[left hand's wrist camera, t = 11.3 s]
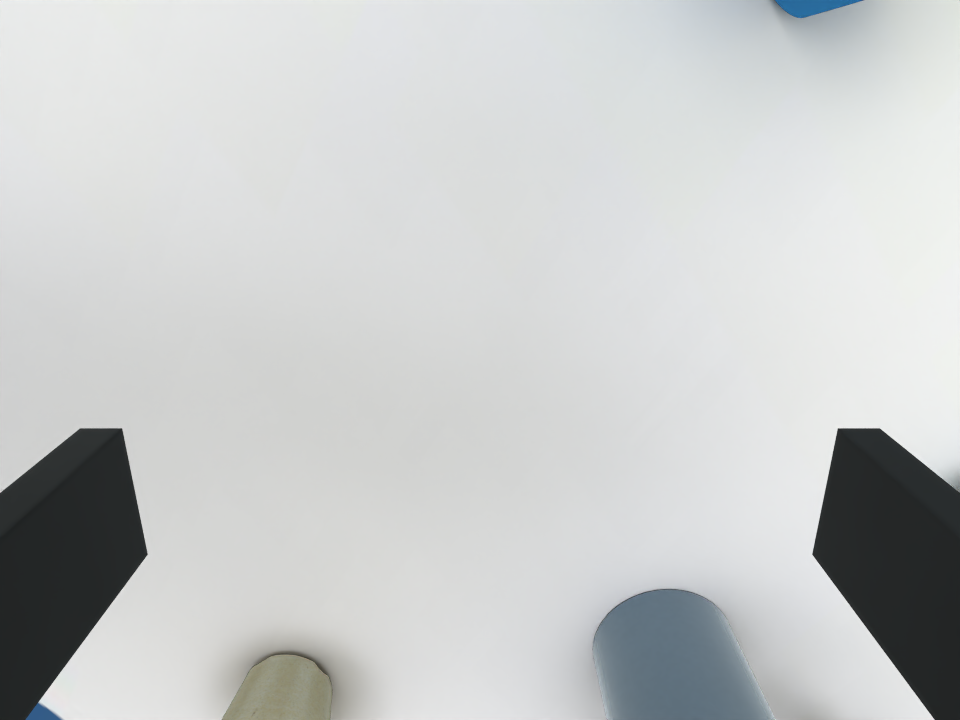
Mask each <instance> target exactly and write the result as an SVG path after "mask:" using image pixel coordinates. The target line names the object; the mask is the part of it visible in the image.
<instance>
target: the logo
mask: <svg viewBox="0 0 960 720" xmlns="http://www.w3.org/2000/svg"><path fill="white" fill-rule="evenodd" d="M775 1H776V2H777V3H778V4H779V5H780V6H781V8H783V9H784V10H785V11H786V12H787V13H789V14H790V15H792V16H794V17H797V18H804V17H808V16H811V15H815V14H818V13H822V12H825V11H828V10H832V9H835V8H839V7H842V6H846V5H849V4H852V3H856V2H859V1H863V0H775Z"/></svg>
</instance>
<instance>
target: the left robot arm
mask: <svg viewBox="0 0 960 720" xmlns="http://www.w3.org/2000/svg"><path fill="white" fill-rule="evenodd" d="M147 555H148V554H147V549H146V544H145V539H144V534H143V529H142V524H141V520H140V515H139V510H138V505H137V500H136V495H135V490H134V485H133V480H132V475H131V470H130V465H129V460H128V456H127V451H126V446H125V441H124V436H123V431H122V429H79V430H78V431H77V432H75V433H74V434H73V435H72V436H70V437H69V438H68V439H67V440H65V441H64V442H63V443H62V444H60V445H59V446H58V447H57V448H55V449H54V450H53V451H52V452H51V453H49V454H48V455H47V456H46V457H44V458H43V459H42V460H41V461H39V462H38V463H37V464H36V465H34V466H33V467H32V468H31V469H29V470H28V471H27V472H26V473H25V474H23V475H22V476H21V477H20V478H18V479H17V480H16V481H15V482H13V483H12V484H11V485H10V486H8V487H7V488H6V489H5V490H3V491H2V492H1V493H0V720H25V719H26V718H27V717H28V715H29V714H30V713H31V711H32V710H33V708H34V707H35V706H36V704H37V703H38V702H39V700H40V699H41V698H42V696H43V695H44V694H45V692H46V691H47V690H48V688H49V687H50V686H51V684H52V683H53V682H54V680H55V679H56V677H57V676H58V675H59V673H60V672H61V671H62V669H63V668H64V667H65V665H66V664H67V663H68V661H69V660H70V659H71V657H72V656H73V655H74V653H75V652H76V650H77V649H78V648H79V646H80V645H81V644H82V642H83V641H84V640H85V638H86V637H87V636H88V634H89V633H90V632H91V630H92V629H93V628H94V626H95V625H96V623H97V622H98V621H99V619H100V618H101V617H102V615H103V614H104V613H105V611H106V610H107V609H108V607H109V606H110V605H111V603H112V602H113V601H114V599H115V598H116V596H117V595H118V594H119V592H120V591H121V590H122V588H123V587H124V586H125V584H126V583H127V582H128V580H129V579H130V578H131V576H132V575H133V574H134V572H135V571H136V569H137V568H138V567H139V565H140V564H141V563H142V561H143V560H144V559H145V557H146V556H147ZM812 555H813V556H814V557H815V559H816V560H817V561H818V563H819V564H820V565H821V567H822V568H823V569H824V571H825V572H826V574H827V575H828V576H829V578H830V579H831V580H832V582H833V583H834V584H835V586H836V587H837V588H838V590H839V591H840V592H841V594H842V595H843V596H844V598H845V599H846V601H847V602H848V603H849V605H850V606H851V607H852V609H853V610H854V611H855V613H856V614H857V615H858V617H859V618H860V619H861V621H862V622H863V623H864V625H865V626H866V628H867V629H868V630H869V632H870V633H871V634H872V636H873V637H874V638H875V640H876V641H877V642H878V644H879V645H880V646H881V648H882V649H883V650H884V652H885V653H886V655H887V656H888V657H889V659H890V660H891V661H892V663H893V664H894V665H895V667H896V668H897V669H898V671H899V672H900V673H901V675H902V676H903V677H904V679H905V680H906V682H907V683H908V684H909V686H910V687H911V688H912V690H913V691H914V692H915V694H916V695H917V696H918V698H919V699H920V700H921V702H922V703H923V704H924V706H925V707H926V709H927V710H928V711H929V713H930V714H931V715H932V717H933V718H934V719H935V720H960V493H959V492H958V491H957V490H955V489H954V488H953V487H952V486H950V485H949V484H948V483H947V482H945V481H944V480H943V479H942V478H940V477H939V476H938V475H937V474H935V473H934V472H933V471H932V470H931V469H929V468H928V467H927V466H926V465H924V464H923V463H922V462H921V461H919V460H918V459H917V458H916V457H914V456H913V455H912V454H911V453H909V452H908V451H907V450H906V449H905V448H903V447H902V446H901V445H900V444H898V443H897V442H896V441H895V440H893V439H892V438H891V437H890V436H888V435H887V434H886V433H885V432H883V431H882V430H881V429H838V431H837V436H836V441H835V446H834V451H833V456H832V460H831V465H830V470H829V475H828V480H827V485H826V490H825V495H824V500H823V505H822V510H821V515H820V520H819V524H818V529H817V534H816V539H815V544H814V549H813V554H812Z"/></svg>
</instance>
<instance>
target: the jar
mask: <svg viewBox="0 0 960 720" xmlns="http://www.w3.org/2000/svg"><path fill="white" fill-rule="evenodd" d="M593 657H594V662H595V667H596V671H597V676H598V681H599V685H600V690H601V695H602V699H603V704H604V709H605V713H606V718H607V720H776V719H775V717H774V715H773V713H772V711H771V709H770V707H769V705H768V703H767V700H766V698H765V696H764V694H763V692H762V690H761V688H760V686H759V684H758V682H757V680H756V678H755V676H754V674H753V672H752V670H751V668H750V666H749V664H748V662H747V660H746V658H745V655H744V653H743V651H742V649H741V647H740V645H739V643H738V641H737V639H736V637H735V635H734V633H733V631H732V629H731V627H730V625H729V623H728V621H727V619H726V617H725V615H724V614H723V613H722V611H721V610H720V609H719V608H718V607H717V606H716V605H715V604H713V603H712V602H710V601H709V600H707V599H706V598H704V597H702V596H700V595H697V594H694V593H691V592H687V591H682V590H668V589H665V590H655V591H650V592H646V593H643V594H639V595H637V596H634V597H632V598H630V599H628V600H626V601H624V602H623V603H621V604H620V605H618V606H617V607H616V608H614V609H613V610H612V611H611V612H610V613H609V614H608V615H607V616H606V617H605V619H604V620H603V621H602V623H601V624H600V626H599V628H598V630H597V632H596V635H595V638H594V642H593Z"/></svg>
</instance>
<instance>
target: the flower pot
mask: <svg viewBox="0 0 960 720" xmlns="http://www.w3.org/2000/svg"><path fill="white" fill-rule="evenodd" d="M331 699H332V685H331V682H330V679H329V677H328V676H327V675H326V674H324V673H323V672H322V671H321V670H320V669H319V668H318V666H317V665H316V664H315V662H313V661H311V660H309V659H306V658H304V657H301V656H296V655H288V654H287V655H274V656H271V657H269V658H267V659H266V660H264V661H262V662H261V663H259V664H257V665H255V666H254V667H253V668H252V669H251V670H250V671H249V673H248V674H247V676H246V678H245V680H244V682H243V684H242V685H241V687H240V689H239V691H238V692H237V694H236V696H235V698H234V699H233V701H232V703H231V704H230V706H229V708H228V710H227V711H226V713H225V715H224V716H223V718H222V720H330V713H331Z"/></svg>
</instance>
